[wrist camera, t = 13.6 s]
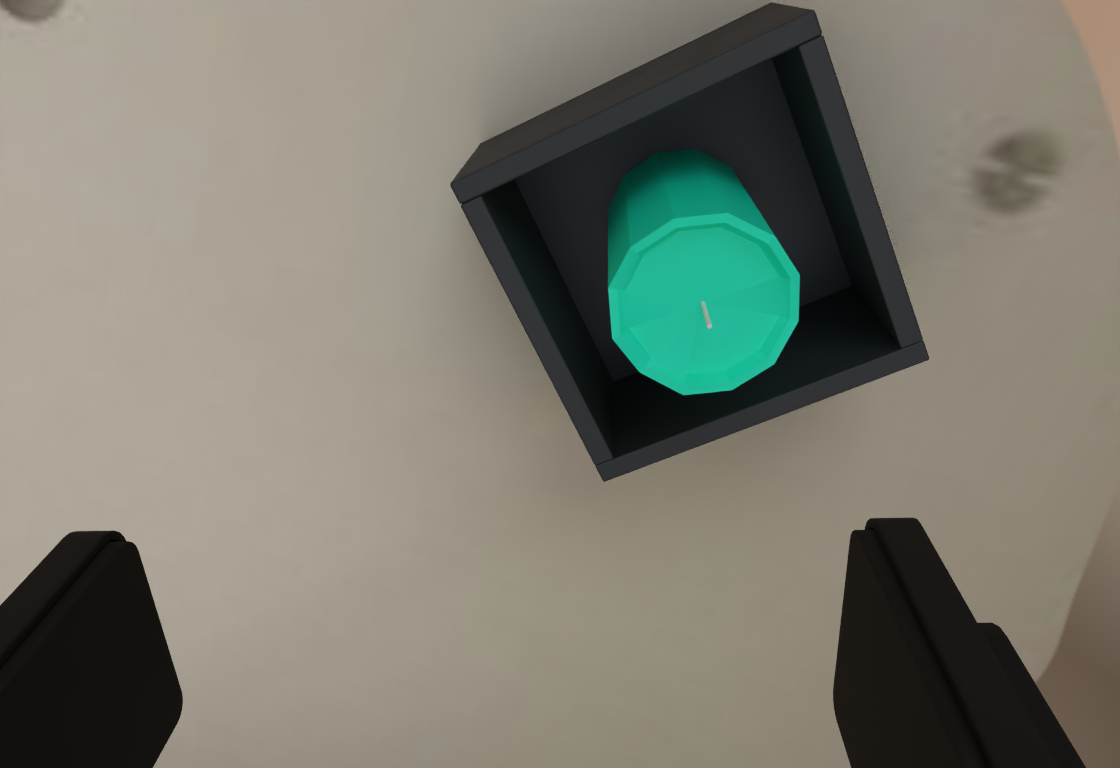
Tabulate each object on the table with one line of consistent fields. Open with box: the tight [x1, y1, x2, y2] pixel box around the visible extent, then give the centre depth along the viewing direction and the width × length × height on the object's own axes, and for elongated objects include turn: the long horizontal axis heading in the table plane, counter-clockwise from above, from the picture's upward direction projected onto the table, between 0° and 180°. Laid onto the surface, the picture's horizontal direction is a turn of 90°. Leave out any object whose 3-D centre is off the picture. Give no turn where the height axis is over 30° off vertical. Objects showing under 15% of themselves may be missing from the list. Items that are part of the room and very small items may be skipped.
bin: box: [450, 3, 929, 482], centre depth 34 cm, size 13×13×8 cm
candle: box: [608, 149, 800, 395], centre depth 31 cm, size 6×6×12 cm
